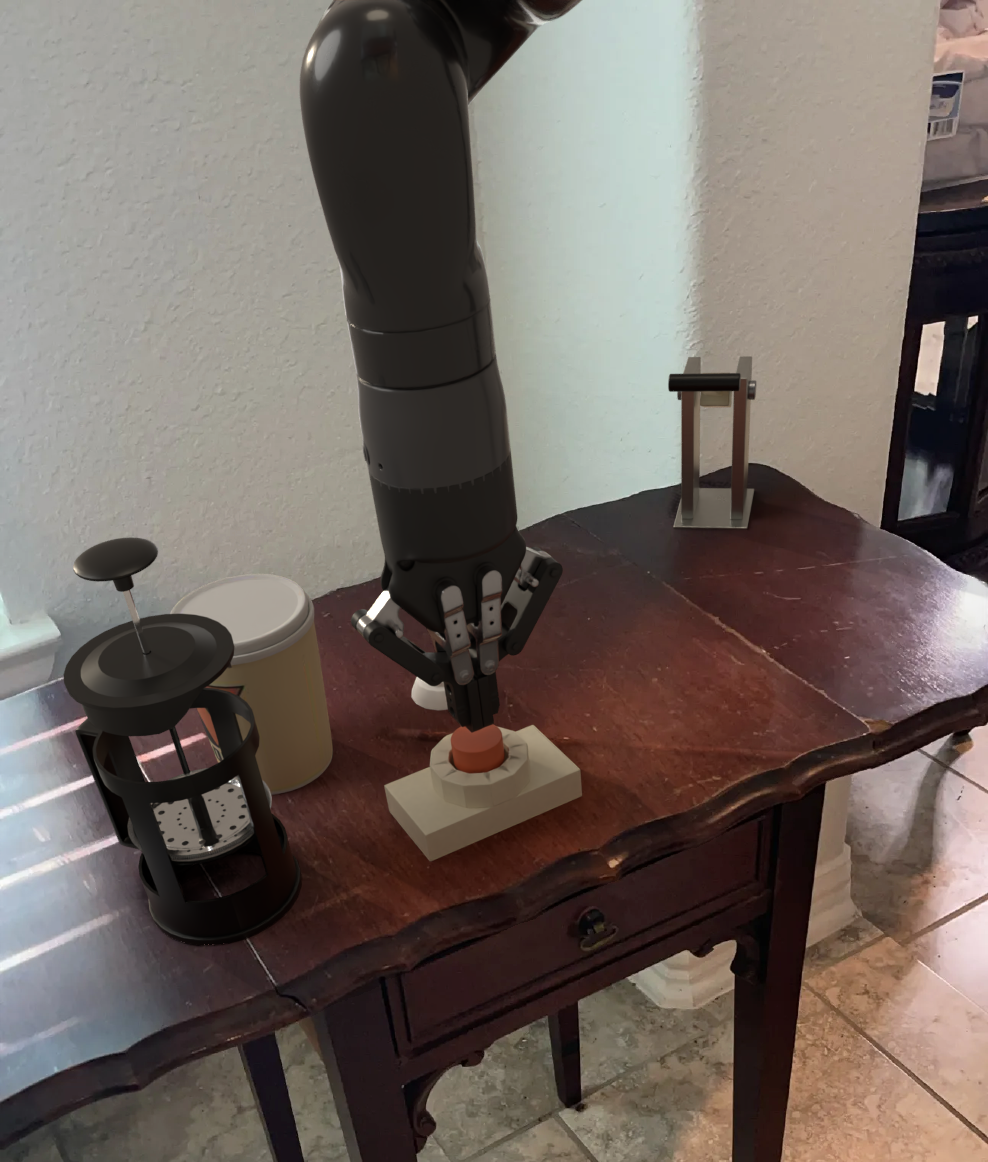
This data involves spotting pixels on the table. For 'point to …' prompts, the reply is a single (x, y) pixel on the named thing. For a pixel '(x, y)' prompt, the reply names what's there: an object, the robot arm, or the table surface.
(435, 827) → the button base
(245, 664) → the beige canister with lid
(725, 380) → the lever
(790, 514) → the table surface
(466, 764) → the button
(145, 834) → the french press
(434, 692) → the white jar
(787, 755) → the table surface
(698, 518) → the switch bracket
